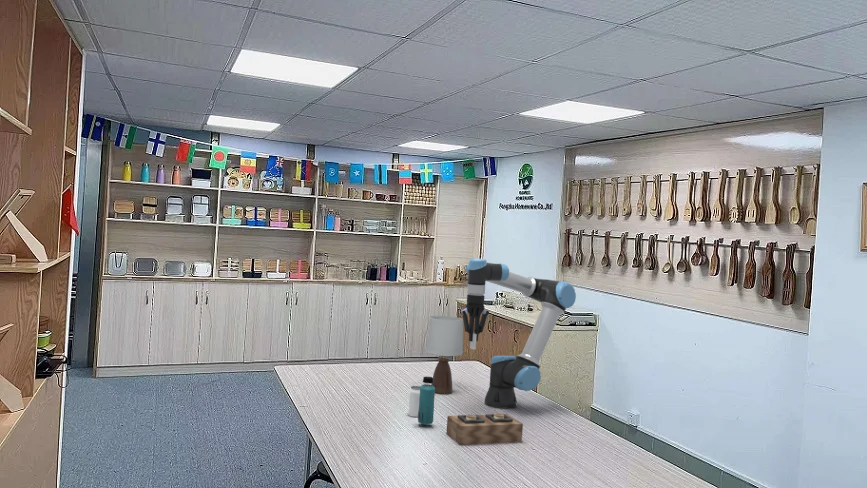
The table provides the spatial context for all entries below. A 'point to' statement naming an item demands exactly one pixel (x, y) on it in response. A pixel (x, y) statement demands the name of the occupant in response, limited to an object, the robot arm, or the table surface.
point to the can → (414, 401)
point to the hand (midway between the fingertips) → (472, 348)
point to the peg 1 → (470, 417)
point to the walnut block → (484, 429)
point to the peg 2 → (498, 416)
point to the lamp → (444, 348)
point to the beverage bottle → (426, 402)
